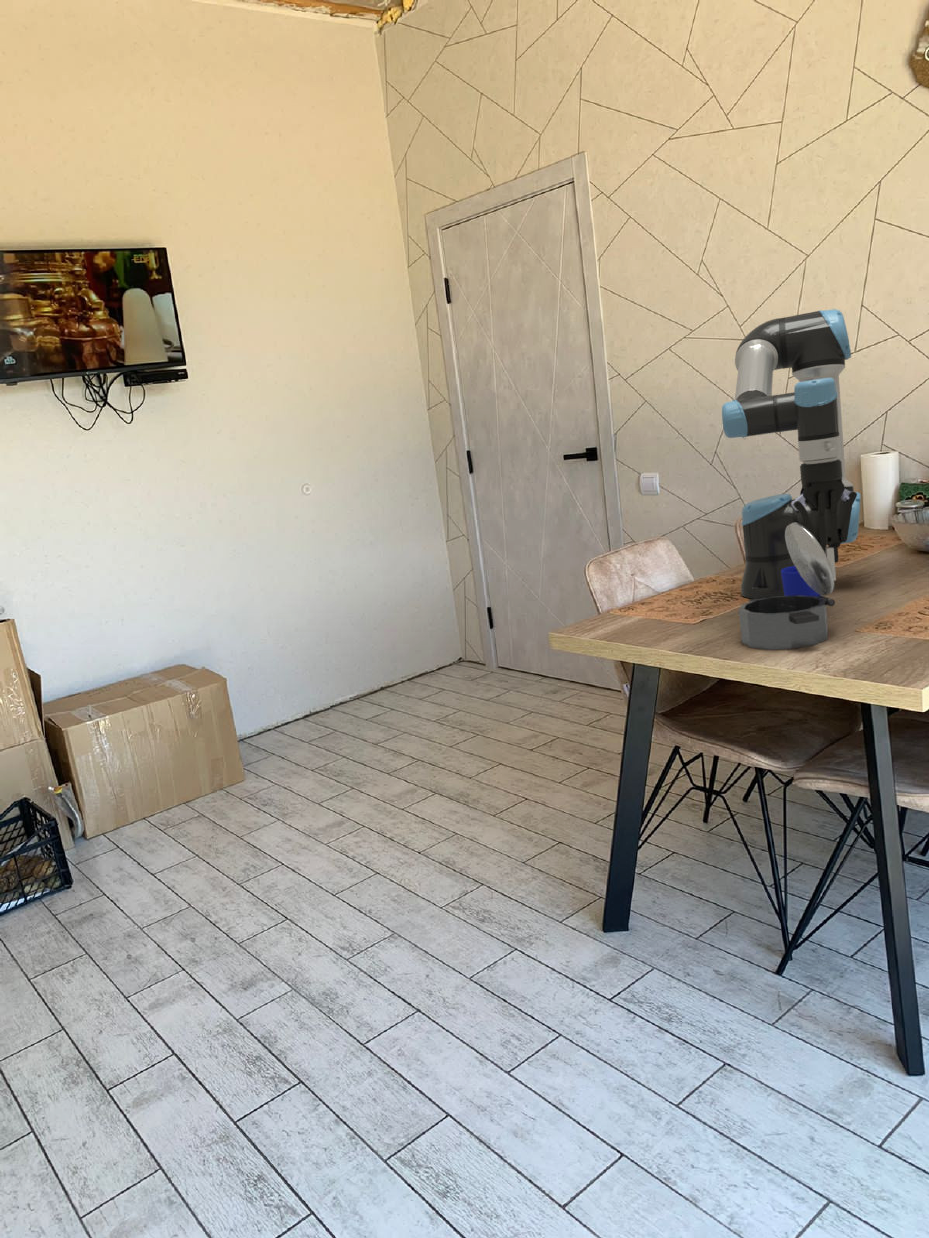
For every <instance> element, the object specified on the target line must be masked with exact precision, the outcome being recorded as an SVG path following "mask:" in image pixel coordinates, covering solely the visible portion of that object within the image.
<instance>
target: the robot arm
mask: <svg viewBox="0 0 929 1238" xmlns="http://www.w3.org/2000/svg"><path fill="white" fill-rule="evenodd" d="M851 350H852V349H851V346H850V339H849V334H848V330H847V326H846V321H845V317H844V314H843V313H842V310H840V309H836V308H835V309H833V308H832V309H827V310H826V309H825V310H821V309H820V310H817V311H816V310H815V311H812V312H806V313H802V314H797V315H792V316H791V315H790V316H784V317H780V318H779V317H778V318H773V319H770V320H768V321H765V322H763V323H762V324H760V325H758V326H756V327H754V329H752V330H751V331H750V332H749V333H748V334H746V336H745V337H744V338H743V339H742V340H741V342H740V343H739V345H738V347H737V350H736V352H735V358H734V365H735V368H736V370H737V378H736V385H735V386H736V387H735V394H734V399H733V400H732V401H728V402H725V403H723V405H722V407H721V421H722V428H723V433H724V436H725V437H726V438H729V439H735V438H742V439H745V438H746V437H752V436H753V437H754V436H761V435H767V434H768V435H769V434H773V433H775V434H776V433H781V432H782V433H783V432H789V431H790V432H791V431H797V445H798V446H797V447H798V458H799V459H798V460H799V461H800V462H802V463H801V464H800V466H799V467H800V468H799V470H800V481H801V489H800V493H799V494H800V495H799V496H798V497H797V498H796V499H795V498H794V499H793V497H792V495H791V494H790V493H782V494H776V495H770V496H766V497H763V498H759V499H755V500H752V501H751V502H748V503H746V504H745V505H744V506H743V507H742V509H741V519H742V520H741V527H742V534H743V542H744V555H745V567H744V570H743V576H742V579H741V584H740V594H741V596H742V597H744V598H745V599H747V598H748V599H756V598H762V597H768V596H770V597H774V596H785V594H784V588H783V582H782V576H781V570H782V569H784V568H787V567H791V566H795V565H794V563H793V561H792V559H791V557H790V554H789V552H788V549H787V545H786V540H785V530H786V527H787V526H788V525H790V524H792V523H799V524H801V525H803V526H804V527H806V528H807V529H808V530H809V531H810V532H811V533H812V534H813V536H814V537H815V538H816V539H817V541H818V542H819V544H820V545H821V547H822V548H823V550H824V552H825V554H826V556H827V558H828V560H829V563H830V565H831V568H832V572H833V576H834V581H837V575H836V574H837V573H836V564H837V563H838V562H839V548H840V546H841V545H842V544H851V543H854V542H855V541H856V539H857V538H858V535H859V526H860V525H859V524H860V523H859V522H860V511H861V497H862V495H861V493H860V492H858V491H854V484H853V483H851V482H850V481H849V480H848V479H847V478H846V477H847V476H846V464H845V449H844V433H843V432H844V431H843V418H842V405H841V404H842V403H841V391H840V377H839V376H840V374H841V373H842V371H844V370H845V368H846V360H849V359H851V358H852V351H851ZM790 368H791V372H792V375H791V376H793V377H794V378H795V379H796V380H798V381H799V382H797V383H796V384H794V389H793V390H794V391H793V392H788V393H782V394H781V393H780V394H773V379H774V378H773V377H774V371H777V370H782V369H784V370H785V369H790Z"/></svg>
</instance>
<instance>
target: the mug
mask: <svg viewBox="0 0 929 1238" xmlns="http://www.w3.org/2000/svg"><path fill="white" fill-rule="evenodd" d="M781 576H782V582H783V588H784V594H785V596H789V595H803V596H816V597H817V596H819V595H820V594H818V593H816V592H815V591H814V590H813V589H812V588H810V586H809V585H808V584H807V583H806V582H805V581H804V579H803V578H802V577H801V575H800V574H799V572H798V571H797V569H796V567H795V566H791V567H787V568H784V569H782V570H781Z"/></svg>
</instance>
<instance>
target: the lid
mask: <svg viewBox="0 0 929 1238" xmlns="http://www.w3.org/2000/svg"><path fill="white" fill-rule="evenodd" d="M785 540H786V545H787V549H788V552H789V554H790V557H791V559H792V561H793V563H794V565H795V567H796V569H797V571H798V572H799V574H800V575H801V577H802V578H803V579H804V581H805V582H806V583H807V584H808V585H809V586H810V588H812V589H813V590H814V591H815V592H816V593H818V594H820V595H821V596H827V595H828V596H829V594H832V592H833V591H834V589H835V580H834V576H833V572H832V568H831V565H830V563H829V560H828V558H827V556H826V554H825V552H824V550H823V548H822V547H821V545H820V544H819V542H818V541H817V539H816V538H815V537H814V536H813V534H812V533H811V532H810V531H809V530H808V529H807V528H806V527H804V526H803V525H801V524H799V523H792V524H790V525H788V526H787V527H786V530H785Z"/></svg>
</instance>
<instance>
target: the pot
mask: <svg viewBox="0 0 929 1238" xmlns="http://www.w3.org/2000/svg"><path fill="white" fill-rule="evenodd" d="M835 604H836V601H835V600H834V599H833V598H829V597H826V596H825V595H819V596H817V597H816V596H803V595H789V596H774V597H770V596H768V597H762V598H756V599H753V598H749V600H748V602H744V603H742V604H741V605H740V607H738V615H739V616H738V617H739V625H740V637H741V644H743V645H745V646H746V647H749V648H752V649H760V650H767V651H771V650H773V651H774V650H794V649H795V650H796V649H801V648H807V647H813V646H815V645H817V644H820V643H823V642H825V641H827V640H828V637H829V630H828V617H827V616H828V615H827V606H830V607H834V605H835Z"/></svg>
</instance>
